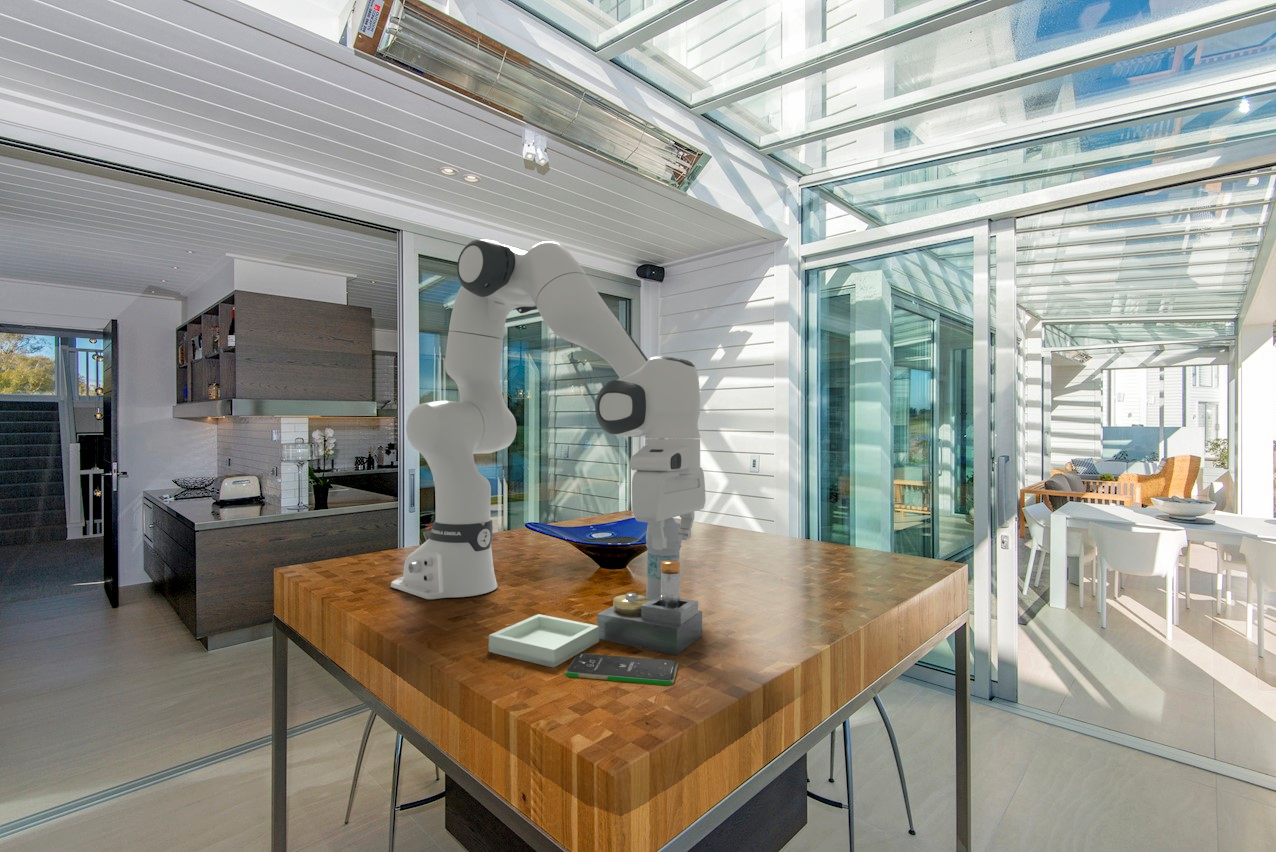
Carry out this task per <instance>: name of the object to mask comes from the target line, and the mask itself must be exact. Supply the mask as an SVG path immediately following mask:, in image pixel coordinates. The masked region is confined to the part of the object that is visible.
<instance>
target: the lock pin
mask: <svg viewBox="0 0 1276 852" xmlns="http://www.w3.org/2000/svg"><path fill="white" fill-rule="evenodd" d="M680 583H681V562H680V561H679V562H678V561H671V560H668V561H662V562H661V606H662V607H668V608H674V609H678V608H679V604H680V598H681V592H680V591H681V588H680V587H681V584H680Z"/></svg>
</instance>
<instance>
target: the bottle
mask: <svg viewBox="0 0 1276 852" xmlns="http://www.w3.org/2000/svg"><path fill="white" fill-rule="evenodd" d="M680 523H681V522H680V521H678V520H677V519H675V518H674V517H673V518H669V519H666V520H664V527H663V532H664V537H667V542H666V543H667V547H666V548H664V549H662V550H656V549H653V547H652V536H651V534H650V531H649V528H648V525H647V527H646V534H645V541H646V543H645V547H646V549H647V562H646V563H647V566H646V569H647V570H646V571H647V573H646V575H647V576H646V577H647V580H646V589H645V590H646V591H645V592H646V593H645V596H646V597H648V598H649V599H650V601H651V600H652V599H654V598H656V597H658V596H660V595H661V562H662V561H668V560H671V561H678V562H680V550H681V547H682V541H683V540H680V539H678V529H679V528H680Z"/></svg>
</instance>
